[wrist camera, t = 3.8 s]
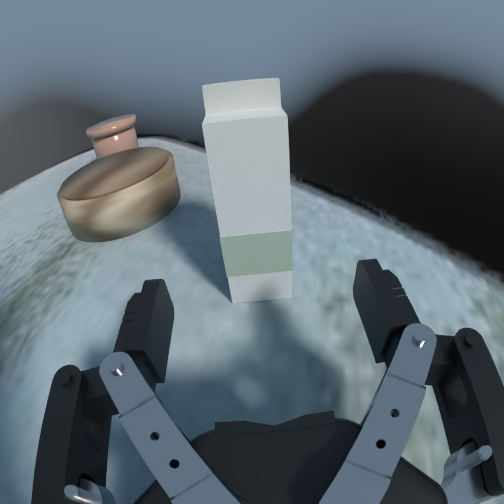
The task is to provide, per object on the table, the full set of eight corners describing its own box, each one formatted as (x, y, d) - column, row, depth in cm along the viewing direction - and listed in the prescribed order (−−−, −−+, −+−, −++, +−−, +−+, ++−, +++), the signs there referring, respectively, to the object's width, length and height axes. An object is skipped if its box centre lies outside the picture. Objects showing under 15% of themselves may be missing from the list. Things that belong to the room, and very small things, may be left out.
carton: (231, 304, 21) (196, 92, 13) (231, 257, 25) (206, 81, 17) (292, 298, 21) (286, 83, 12) (283, 252, 25) (273, 74, 17)
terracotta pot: (91, 183, 42) (77, 136, 37) (109, 164, 49) (98, 121, 44) (138, 174, 42) (125, 123, 37) (150, 155, 48) (141, 111, 44)
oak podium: (52, 248, 29) (34, 209, 26) (95, 189, 40) (85, 158, 37) (169, 233, 28) (156, 185, 25) (187, 174, 40) (181, 138, 37)
